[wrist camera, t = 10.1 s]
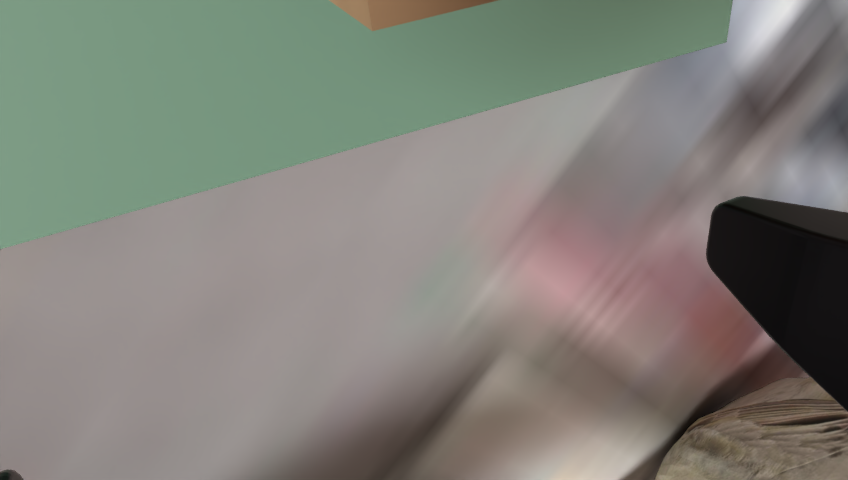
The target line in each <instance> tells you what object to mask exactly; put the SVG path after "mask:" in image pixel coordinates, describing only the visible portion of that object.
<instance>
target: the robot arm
mask: <svg viewBox="0 0 848 480" xmlns="http://www.w3.org/2000/svg"><path fill="white" fill-rule="evenodd" d="M706 258H707V262H708V264H709V266H710V268H711V270H712V271H713V272H714V273H715V275H716V276H717V277H718V278H719V279H720V280H721V281H722V283H723V284H724V285H725V286H726V287H727V288H728V289H729V291H730V292H731V293H732V294H733V295H734V296H735V297H736V298H737V300H738V301H739V302H740V303H741V304H742V305H743V306H744V308H745V309H746V310H747V311H748V312H749V313H750V314H751V316H752V317H753V318H754V319H755V320H756V321H757V322H758V324H759V325H760V326H761V327H762V328H763V329H764V330H765V332H766V333H767V334H768V335H769V336H770V337H771V338H772V339H773V340H774V342H775V343H776V344H777V345H778V346H779V347H780V348H781V349H782V350H783V351H784V352H785V353H786V354H787V355H788V356H789V357H790V358H791V359H792V360H793V361H794V362H795V363H796V364H797V365H798V366H799V367H800V368H801V369H802V370H804V371H805V372H806V373H807V374H808V375H809V376H810V377H811V378H812V379H813V380H814V381H815V382H816V383H817V384H818V385H819V386H820V387H822V388H823V389H824V390H825V391H826V392H827V393H828V394H829V395H830V396H831V397H832V398H833V399H834V400H835V401H836V402H837V403H838V404H839V405H841V406H842V407H843V408H844V409H845V410H846V411H847V412H848V213H847V212H841V211H835V210H828V209H822V208H816V207H810V206H804V205H797V204H791V203H785V202H779V201H773V200H766V199H760V198H754V197H748V196H740V197H736V198H733V199H731V200H728V201H725V202H723V203H720V204H718V205H717V206H716V207H715V208H714V210H713V212H712V215H711V221H710V228H709V235H708V242H707V249H706ZM0 480H23V478H22V477H21V476H20V474H18V473H17V472H16V471H14V470H4V471H1V472H0Z"/></svg>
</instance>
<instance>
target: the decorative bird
mask: <svg viewBox="0 0 848 480" xmlns="http://www.w3.org/2000/svg"><path fill="white" fill-rule="evenodd" d="M655 480H848V412H847V411H846V410H845V409H844V408H843V407H842V406H841V405H839V404H838V403H837V402H836V401H835V400H834V399H833V398H832V397H831V396H830V395H829V394H828V393H827V392H826V391H825V390H824V389H823V388H822V387H820V386H819V385H818V384H817V383H816V382H815V381H814V380H813V379H812V378H811V377H809V378H784V379H780V380H777V381H775V382H773V383H770V384H768V385H766V386H765V387H763V388H761V389H758V390H756V391H754V392H752V393H749V394H747V395H745V396H743V397H741V398H739V399H737V400H735V401H733V402H731V403H729V404H727V405H726V406H724V407H723V408H721V409H720V410H718V411H716V412H714V413H711V414H709V415H706V416H704V417H702V418H699V419H698V420H697V421H695V422H694V423H693V424H692V425H691V426H690V427H689V428H688V429H687V431H686V432H685V433H684V434H683V436H682V437H681V438H680V439H679V440H678V441H677V442H676V443H675V444H674V445H673V446H672V448H671V449H670V450H669V451H668V453H667V454H666V456H665V457H664V459H663V461H662V463H661V466H660V468H659V470H658V473H657V475H656V478H655Z"/></svg>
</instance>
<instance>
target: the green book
mask: <svg viewBox="0 0 848 480" xmlns="http://www.w3.org/2000/svg"><path fill="white" fill-rule="evenodd" d="M732 1H733V0H498V1H494V2H490V3H486V4H482V5H478V6H474V7H470V8H465V9H461V10H457V11H453V12H449V13H445V14H441V15H437V16H433V17H429V18H425V19H421V20H416V21H412V22H408V23H404V24H400V25H396V26H392V27H388V28H384V29H380V30H376V31H371V30H370V29H369V28H367V27H366V26H364V25H363V24H362V23H360V22H359V21H357V20H356V19H355V18H353V17H352V16H350V15H349V14H348V13H346V12H345V11H343V10H342V9H341V8H339V7H338V6H336V5H335V4H334V3H332V2H331V1H329V0H0V249H3V248H6V247H10V246H13V245H17V244H20V243H24V242H27V241H31V240H34V239H38V238H41V237H45V236H48V235H52V234H55V233H59V232H62V231H66V230H69V229H73V228H76V227H80V226H83V225H87V224H90V223H94V222H97V221H101V220H104V219H108V218H111V217H115V216H118V215H122V214H125V213H129V212H132V211H136V210H139V209H143V208H146V207H150V206H153V205H157V204H160V203H164V202H167V201H171V200H174V199H178V198H181V197H185V196H188V195H192V194H195V193H199V192H202V191H206V190H210V189H213V188H217V187H220V186H224V185H227V184H231V183H234V182H238V181H241V180H245V179H248V178H252V177H255V176H259V175H262V174H266V173H269V172H273V171H276V170H280V169H283V168H287V167H290V166H294V165H297V164H301V163H304V162H308V161H311V160H315V159H318V158H322V157H325V156H329V155H332V154H336V153H339V152H343V151H346V150H350V149H353V148H357V147H360V146H364V145H367V144H371V143H374V142H378V141H381V140H385V139H388V138H392V137H395V136H399V135H402V134H406V133H409V132H413V131H416V130H420V129H423V128H427V127H430V126H434V125H438V124H441V123H445V122H448V121H452V120H455V119H459V118H462V117H466V116H469V115H473V114H476V113H480V112H483V111H487V110H490V109H494V108H497V107H501V106H504V105H508V104H511V103H515V102H518V101H522V100H525V99H529V98H532V97H536V96H539V95H543V94H546V93H550V92H553V91H557V90H560V89H564V88H567V87H571V86H574V85H578V84H581V83H585V82H588V81H592V80H595V79H599V78H602V77H606V76H609V75H613V74H616V73H620V72H623V71H627V70H630V69H634V68H637V67H641V66H644V65H648V64H651V63H655V62H659V61H662V60H666V59H669V58H673V57H676V56H680V55H683V54H687V53H690V52H694V51H697V50H701V49H704V48H708V47H711V46H715V45H718V44H722V43H725V42H727V35H728V28H729V22H730V15H731V8H732Z"/></svg>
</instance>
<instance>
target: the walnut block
mask: <svg viewBox="0 0 848 480" xmlns="http://www.w3.org/2000/svg"><path fill="white" fill-rule="evenodd" d="M329 1H331V2H332V3H334V4H335V5H336V6H338V7H339V8H341V9H342V10H343V11H345V12H346V13H348V14H349V15H350V16H352V17H353V18H355V19H356V20H357V21H359V22H360V23H362V24H363V25H364V26H366V27H367V28H369V29H370V30H371V31H376V30H380V29H384V28H388V27H392V26H396V25H400V24H404V23H408V22H412V21H416V20H421V19H425V18H429V17H433V16H437V15H441V14H445V13H449V12H453V11H457V10H461V9H465V8H470V7H474V6H478V5H482V4H486V3H490V2H494V1H498V0H329Z"/></svg>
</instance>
